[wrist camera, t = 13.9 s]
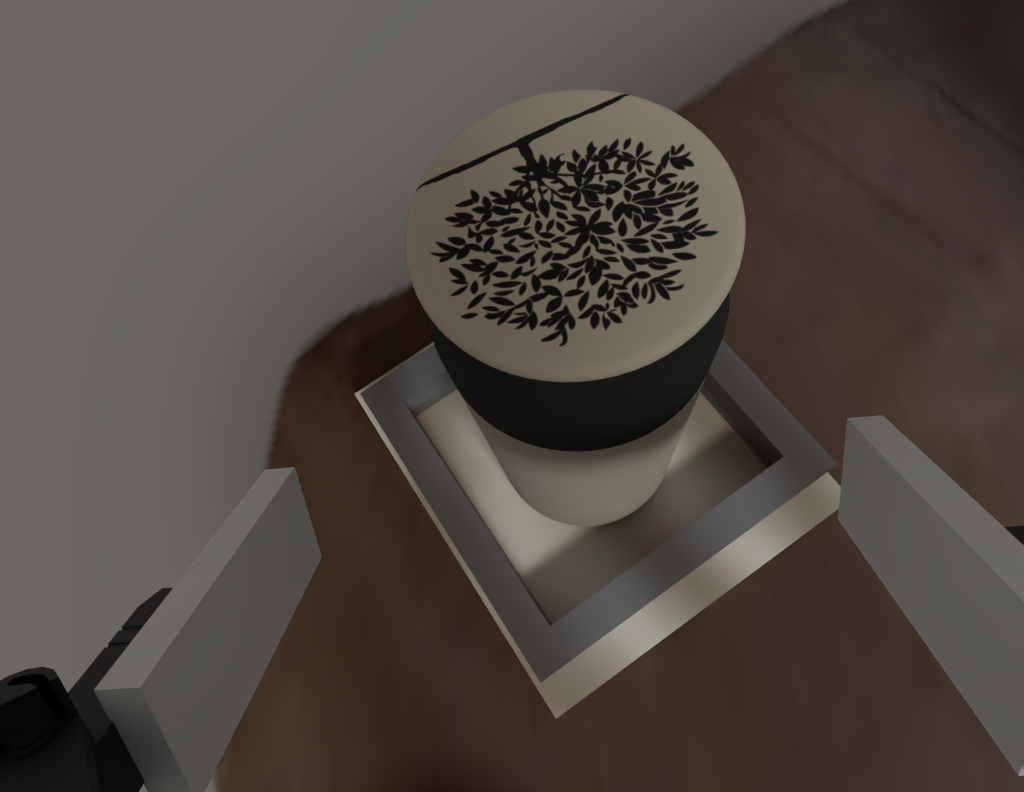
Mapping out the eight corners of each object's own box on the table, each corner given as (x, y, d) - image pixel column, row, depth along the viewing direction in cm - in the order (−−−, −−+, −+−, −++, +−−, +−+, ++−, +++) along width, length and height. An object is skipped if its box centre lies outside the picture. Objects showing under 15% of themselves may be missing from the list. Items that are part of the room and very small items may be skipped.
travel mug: (695, 498, 29) (826, 318, 13) (527, 548, 29) (436, 437, 13) (636, 347, 32) (678, 36, 15) (484, 394, 32) (362, 136, 16)
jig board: (605, 244, 36) (606, 199, 33) (839, 505, 30) (874, 486, 26) (364, 403, 35) (336, 375, 31) (558, 714, 28) (552, 726, 25)
